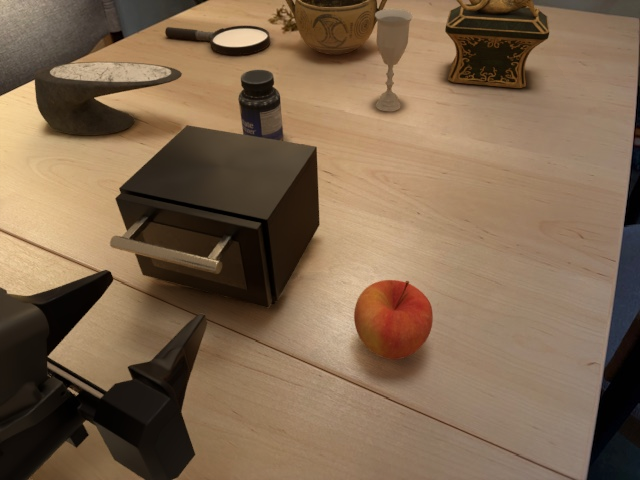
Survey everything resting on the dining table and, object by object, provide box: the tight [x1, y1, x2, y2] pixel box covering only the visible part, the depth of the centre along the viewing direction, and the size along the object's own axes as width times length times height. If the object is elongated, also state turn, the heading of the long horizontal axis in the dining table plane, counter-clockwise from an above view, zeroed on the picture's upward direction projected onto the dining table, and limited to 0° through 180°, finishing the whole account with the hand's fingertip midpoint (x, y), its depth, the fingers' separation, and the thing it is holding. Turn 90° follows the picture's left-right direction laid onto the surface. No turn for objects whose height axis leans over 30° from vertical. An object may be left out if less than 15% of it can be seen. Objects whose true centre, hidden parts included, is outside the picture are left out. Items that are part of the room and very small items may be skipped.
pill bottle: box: [238, 69, 285, 141], centre depth 78 cm, size 6×6×11 cm
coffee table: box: [33, 61, 183, 136], centre depth 85 cm, size 25×9×9 cm, turn 82°
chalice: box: [375, 8, 414, 112], centre depth 85 cm, size 6×6×15 cm
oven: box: [118, 124, 321, 306], centre depth 58 cm, size 13×16×13 cm
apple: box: [353, 279, 434, 360], centre depth 50 cm, size 7×7×8 cm
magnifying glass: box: [164, 25, 271, 56], centre depth 113 cm, size 12×24×2 cm, turn 71°
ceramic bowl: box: [285, 0, 388, 56], centre depth 104 cm, size 22×17×15 cm
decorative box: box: [444, 0, 550, 89], centre depth 91 cm, size 20×10×20 cm, turn 74°
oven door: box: [109, 192, 272, 309], centre depth 51 cm, size 5×15×11 cm, turn 70°
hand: (155, 295), depth 39 cm, fingers open, 9 cm apart
